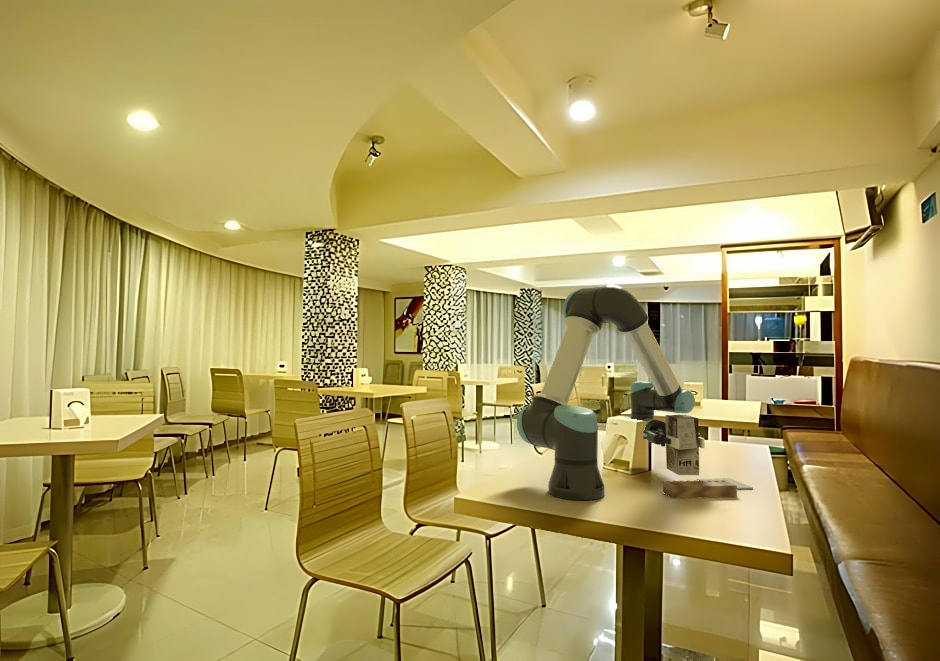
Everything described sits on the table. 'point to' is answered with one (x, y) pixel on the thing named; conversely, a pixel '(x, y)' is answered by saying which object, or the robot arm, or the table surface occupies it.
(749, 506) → the table surface
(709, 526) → the table surface
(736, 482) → the stub pad
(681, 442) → the coffee box
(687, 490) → the perforated block
